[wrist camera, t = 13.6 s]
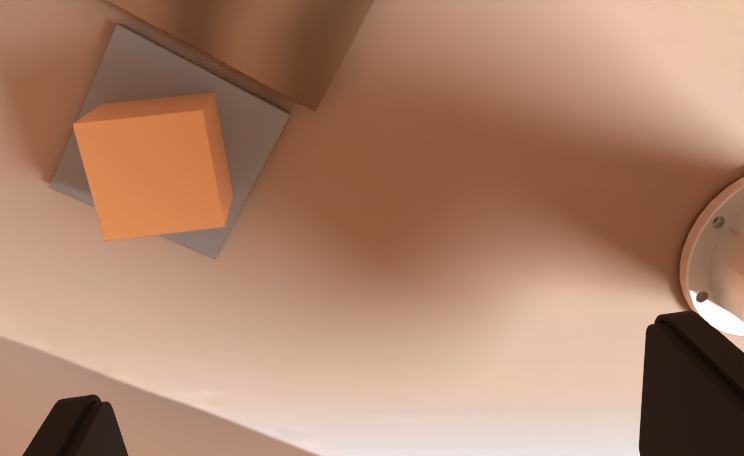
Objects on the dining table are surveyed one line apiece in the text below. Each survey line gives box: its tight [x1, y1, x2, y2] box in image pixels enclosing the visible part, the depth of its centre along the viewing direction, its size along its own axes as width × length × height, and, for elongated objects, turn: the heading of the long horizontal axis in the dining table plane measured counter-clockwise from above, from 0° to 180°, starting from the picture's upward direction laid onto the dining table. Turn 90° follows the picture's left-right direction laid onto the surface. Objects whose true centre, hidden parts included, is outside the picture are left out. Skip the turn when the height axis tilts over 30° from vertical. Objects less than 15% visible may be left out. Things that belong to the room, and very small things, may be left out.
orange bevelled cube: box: [73, 92, 233, 241], centre depth 32 cm, size 6×6×5 cm
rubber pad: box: [49, 23, 290, 259], centre depth 35 cm, size 10×10×1 cm
